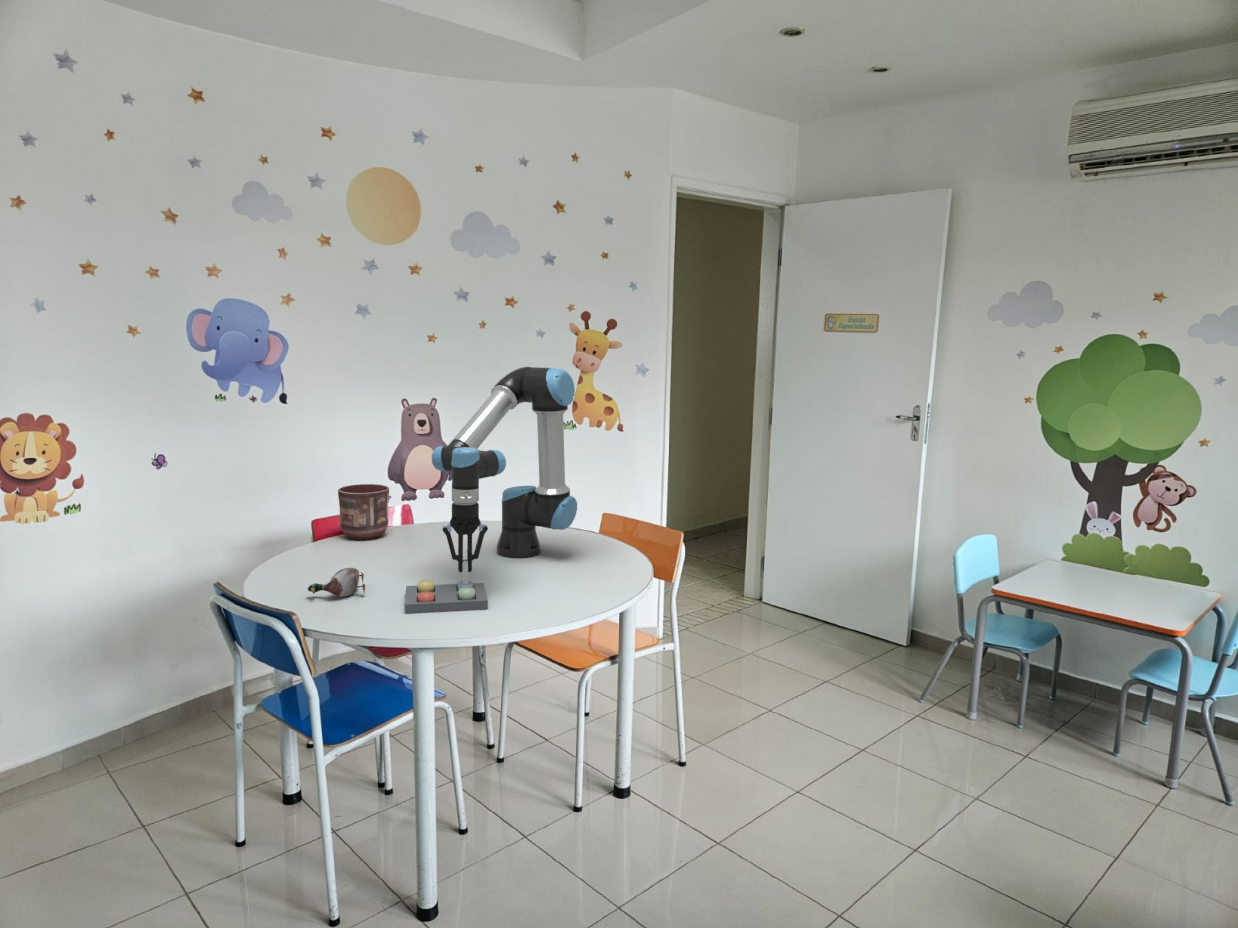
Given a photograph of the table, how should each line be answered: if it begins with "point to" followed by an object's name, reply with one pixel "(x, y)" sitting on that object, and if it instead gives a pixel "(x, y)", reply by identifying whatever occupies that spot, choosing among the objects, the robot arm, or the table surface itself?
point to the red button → (425, 596)
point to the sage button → (466, 593)
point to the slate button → (464, 585)
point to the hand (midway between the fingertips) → (465, 582)
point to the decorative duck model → (340, 583)
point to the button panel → (445, 599)
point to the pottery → (363, 510)
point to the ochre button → (425, 586)
